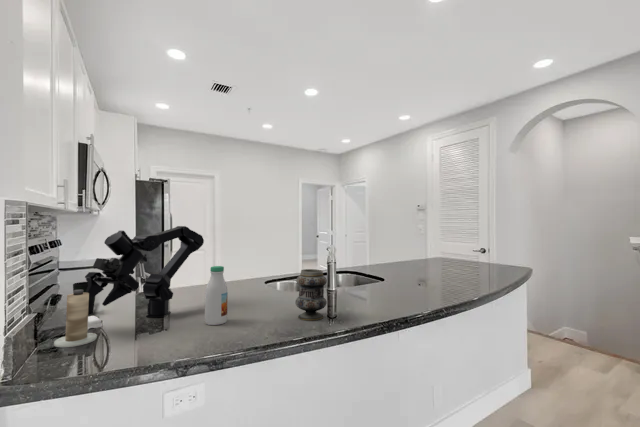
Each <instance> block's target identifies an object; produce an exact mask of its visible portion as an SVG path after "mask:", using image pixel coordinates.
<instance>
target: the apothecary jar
mask: <svg viewBox="0 0 640 427" xmlns="http://www.w3.org/2000/svg"><path fill="white" fill-rule="evenodd" d="M327 282H328V279H327V277H326V276H325V275H324V273H323V270H322V269H317V268H304V269H301V270H300V274H299V276H297V277H296V284H297V285H299V288H298V296H297V298H296V299H295V306H296V307H297V308H298V309H300V310H301V311H304V312H302V313H299V314H298V316H297V317H298V319H299V318H300V320H301V319H302V320H301V321H307V322H308V321H309V322H313V321H319V320H323V319H324V314H322V313H320V312H318V311H320V310H322V309H324V308H326V306H327V298H325V297H324V296H325V295H324V290H325V287H324V286H325V285H326V284H327Z"/></svg>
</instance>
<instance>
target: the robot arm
mask: <svg viewBox="0 0 640 427" xmlns="http://www.w3.org/2000/svg"><path fill="white" fill-rule="evenodd" d="M175 239H178V240H179V241H180V248H179V249H178V250H177V251H176V253H175V254H174V255H173V256H171V258H170V259H169V261H168V262H167V263H166V264H165V266H164V267H162V269H161V270H160V271H159V272H158V273H151V274H150V275H149V276H148V278H147V279H146V280H144V281H143V282H144V284H143V286H142V292H143V294H144V298H145V300H148V303H147V310H146V311H147V314H146V315H145V317H146V318H164V317H166V316H168V315H169V314H170V313H171V311H169V306H170V304H169V302H170V300H171V299H173V296H174V292H173V291H172V290H171V289H170V287H171V279H172V278H173V277H174V276H175V275H176V273H177V272H178V271H179V269H180V268H181V266H183V264H184V263H185V261H186V260H188V258H189V256H190V255H191V254H193V253H195V252H197V251H198V250H199V249H200V248H201V247H202V246H203V245H204V242H205V240H204V237H203V235H202V234H200V233H198V232H196V231H195V230H192V229H190V228H189V227H187V226H186V225H184V226H183V225H177V226H175V227H173V228H169V229H166V230H164V231H160V232H157V233H151V234H140V235H136V236H134V237H133V239H132V238H130V236H129V235H128V234H127V232H126V231H125V230H118V231H117V232H115V233H113V234H111V235H110V236H107V237H106V239H105V240H104V244H105V245H106V247H107V248H109V250H111V251H112V252H113V253H114V254H115V255H116V256H121V257H119V258H118V257H117V258H116V257H111V258H102V257H101V258H96V259H95V261H94V263H93V266H91V268H92V269H94V270H95V269H96V270H99V271H101V272H99V271H90V272H88V273H86V275H85V276H84V278H85V280H86V281H85V282H88V287H87V290H86V293H89V300H90V299H92V298H93V297H94V296H95V297H96V296H97V295H99V294H100V293H102V291H104V288H105V287H107V286H108V284H109V285H110V284H112V285H113V286H112V289H111V290H110V291H109V292H108V295H107V296H106V298H104V300H103V302H102V303H101V304H102V306H106V307H107V306H108V305H110V304H111V303H113V302H115V301H117V300H119V299H120V298H122V297H124V296H126V295H128V294H131V293H132V292H136V291H137V290H138V288H139V287H140V283H139V281H137V279H135V278H134V276H132V275H134V273H135V268H136V267H137V266H138V264H139V263H140V262H143V263H147V262H148V258H147V254H146V253H145V254H143V253H142V252H152V251H154V250H156V249H157V248H159V247H160V245H162V244H164V243H166V242H170V241H173V240H175ZM104 275H105V276H104Z"/></svg>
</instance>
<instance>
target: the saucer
mask: <svg viewBox="0 0 640 427" xmlns="http://www.w3.org/2000/svg"><path fill="white" fill-rule="evenodd" d="M97 337H98V334H96V333H95V332H87V338H85V339H82V340H78V341H70V342H69V341H65V336H62V337H60V338H57V339H55V340H54V342H53V345H54V347H56V348H61V349H62V348H74V347H79V346H83V345H87V344H90V343H92V342H94V341H96V340H97V339H98V338H97Z"/></svg>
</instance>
